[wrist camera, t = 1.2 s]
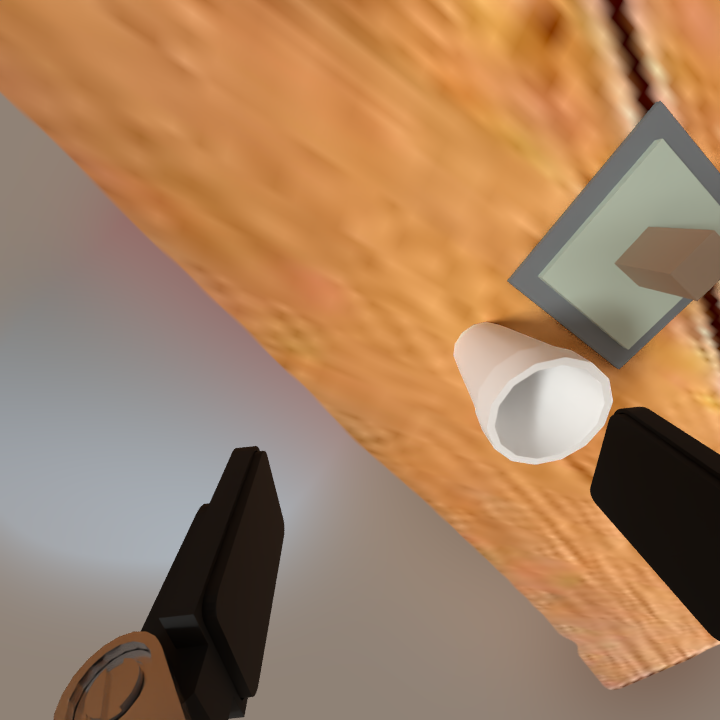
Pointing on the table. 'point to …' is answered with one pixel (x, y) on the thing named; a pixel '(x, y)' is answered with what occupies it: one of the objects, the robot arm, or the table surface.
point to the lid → (641, 248)
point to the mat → (637, 142)
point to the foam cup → (531, 393)
